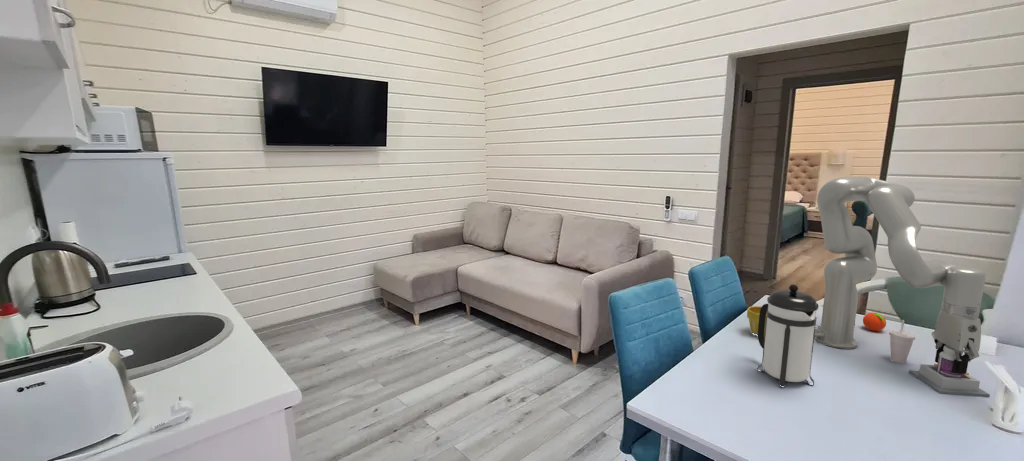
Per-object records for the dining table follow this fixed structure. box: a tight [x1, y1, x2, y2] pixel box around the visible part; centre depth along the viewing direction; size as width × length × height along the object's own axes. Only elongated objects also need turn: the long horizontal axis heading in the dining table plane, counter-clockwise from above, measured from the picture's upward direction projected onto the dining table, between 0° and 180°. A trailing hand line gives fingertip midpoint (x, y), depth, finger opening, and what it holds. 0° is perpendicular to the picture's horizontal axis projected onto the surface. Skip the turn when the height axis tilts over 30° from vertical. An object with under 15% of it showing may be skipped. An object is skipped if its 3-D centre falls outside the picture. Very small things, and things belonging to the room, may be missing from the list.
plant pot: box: [746, 305, 767, 336], centre depth 160 cm, size 10×10×10 cm
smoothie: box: [888, 319, 916, 365], centre depth 138 cm, size 6×6×14 cm
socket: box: [908, 363, 991, 398], centre depth 125 cm, size 12×12×4 cm
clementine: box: [862, 312, 887, 332], centre depth 162 cm, size 8×7×7 cm
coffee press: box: [756, 284, 820, 386], centre depth 129 cm, size 17×16×30 cm
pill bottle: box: [937, 345, 964, 378], centre depth 124 cm, size 5×5×10 cm
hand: (950, 367), depth 124 cm, fingers closed on pill bottle, 5 cm apart
